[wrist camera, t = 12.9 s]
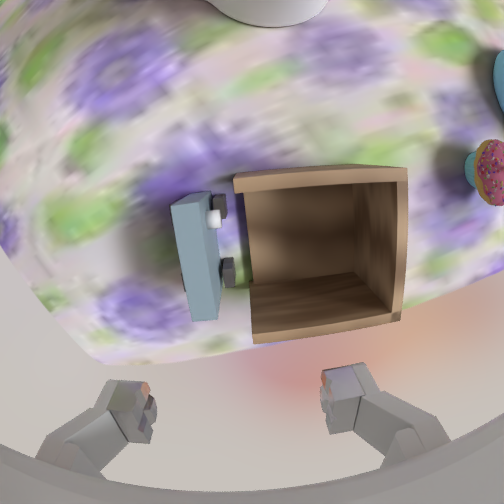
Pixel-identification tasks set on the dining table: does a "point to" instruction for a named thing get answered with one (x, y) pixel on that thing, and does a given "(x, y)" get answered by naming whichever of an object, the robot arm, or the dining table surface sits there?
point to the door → (199, 253)
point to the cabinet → (322, 248)
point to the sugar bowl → (499, 78)
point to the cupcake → (487, 171)
